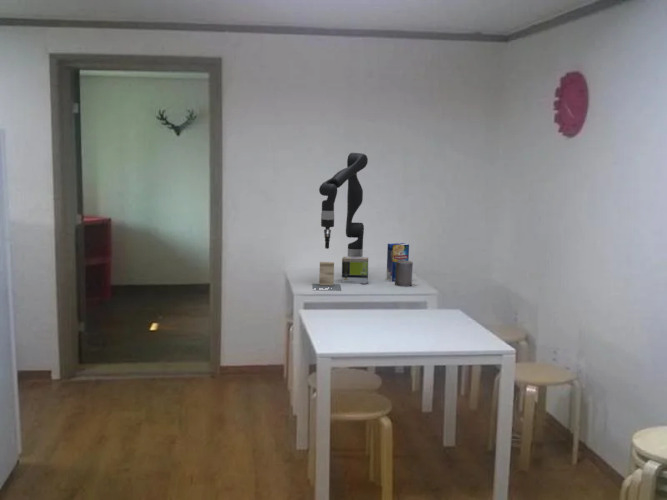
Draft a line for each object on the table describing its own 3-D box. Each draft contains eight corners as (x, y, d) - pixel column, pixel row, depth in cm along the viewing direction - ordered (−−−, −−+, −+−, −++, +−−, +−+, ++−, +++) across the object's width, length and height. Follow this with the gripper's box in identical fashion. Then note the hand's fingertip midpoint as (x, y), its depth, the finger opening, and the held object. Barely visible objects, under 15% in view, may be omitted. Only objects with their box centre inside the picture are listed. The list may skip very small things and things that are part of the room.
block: (319, 284, 414) (319, 261, 412) (333, 284, 414) (333, 262, 412) (319, 285, 409) (319, 263, 407) (333, 286, 409) (334, 263, 407)
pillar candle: (392, 283, 423) (393, 258, 420) (407, 282, 426) (408, 257, 424) (399, 286, 414) (400, 261, 411) (414, 286, 417) (415, 260, 415)
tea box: (368, 281, 429) (368, 256, 427) (367, 284, 419) (367, 259, 417) (342, 280, 430) (343, 255, 428) (341, 283, 420) (341, 258, 418)
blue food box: (407, 280, 434) (409, 244, 431) (392, 281, 429) (393, 245, 426) (401, 278, 440) (403, 243, 437) (386, 279, 435) (387, 243, 432)
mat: (312, 284, 415) (312, 283, 415) (340, 284, 415) (340, 284, 415) (312, 290, 395) (312, 290, 395) (341, 291, 396) (341, 290, 396)
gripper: (320, 217, 422) (320, 246, 424) (321, 219, 408) (320, 249, 411) (333, 217, 422) (333, 247, 424) (334, 219, 409) (333, 250, 411)
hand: (327, 248), depth 417 cm, fingers closed
